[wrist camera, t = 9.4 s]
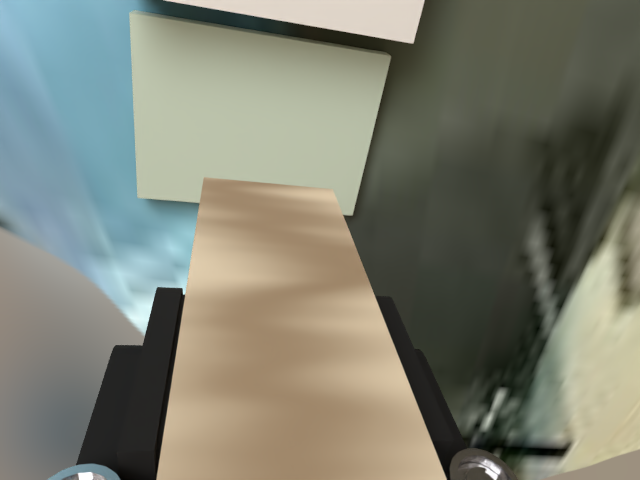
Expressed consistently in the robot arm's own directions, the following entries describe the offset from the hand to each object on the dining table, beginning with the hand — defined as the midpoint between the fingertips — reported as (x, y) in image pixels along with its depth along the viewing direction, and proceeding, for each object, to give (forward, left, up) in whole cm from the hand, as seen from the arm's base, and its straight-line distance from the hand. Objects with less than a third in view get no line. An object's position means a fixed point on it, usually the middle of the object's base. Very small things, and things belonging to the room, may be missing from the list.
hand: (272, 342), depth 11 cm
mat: (0, 0, -16) cm, 16 cm away
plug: (0, 0, -5) cm, 5 cm away
